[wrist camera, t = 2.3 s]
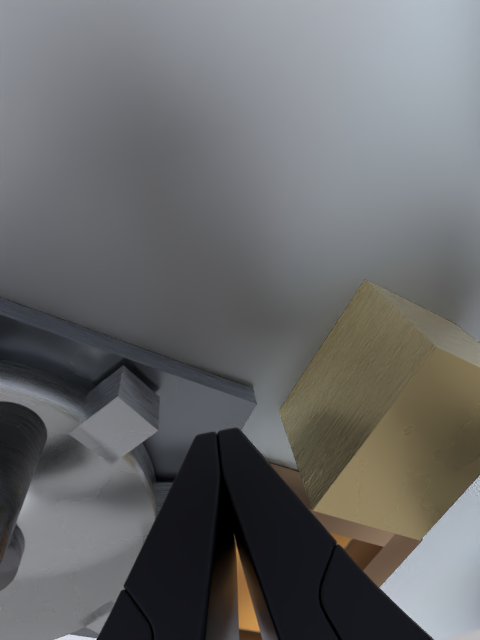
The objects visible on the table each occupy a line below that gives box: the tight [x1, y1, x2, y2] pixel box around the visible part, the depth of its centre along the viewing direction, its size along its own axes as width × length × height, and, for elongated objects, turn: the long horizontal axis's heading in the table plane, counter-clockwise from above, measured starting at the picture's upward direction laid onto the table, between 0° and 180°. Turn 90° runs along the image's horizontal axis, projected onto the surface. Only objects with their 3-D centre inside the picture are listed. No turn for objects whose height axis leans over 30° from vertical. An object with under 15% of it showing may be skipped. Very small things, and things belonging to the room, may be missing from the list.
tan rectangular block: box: [279, 279, 480, 540], centre depth 12 cm, size 4×5×4 cm
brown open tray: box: [234, 463, 422, 640], centre depth 17 cm, size 7×9×2 cm
